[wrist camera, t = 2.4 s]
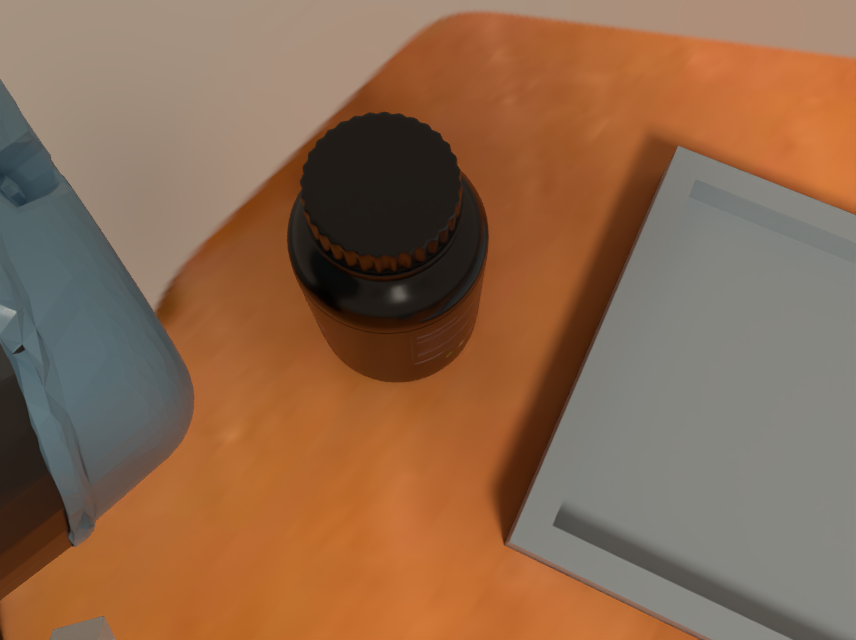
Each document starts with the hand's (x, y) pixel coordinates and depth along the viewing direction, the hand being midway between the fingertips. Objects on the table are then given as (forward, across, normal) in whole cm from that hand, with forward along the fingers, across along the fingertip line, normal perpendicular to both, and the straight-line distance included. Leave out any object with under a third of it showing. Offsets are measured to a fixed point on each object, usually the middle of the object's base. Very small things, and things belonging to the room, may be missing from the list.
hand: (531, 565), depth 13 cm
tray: (+15, +14, -12) cm, 24 cm away
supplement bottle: (+22, 0, -5) cm, 23 cm away
